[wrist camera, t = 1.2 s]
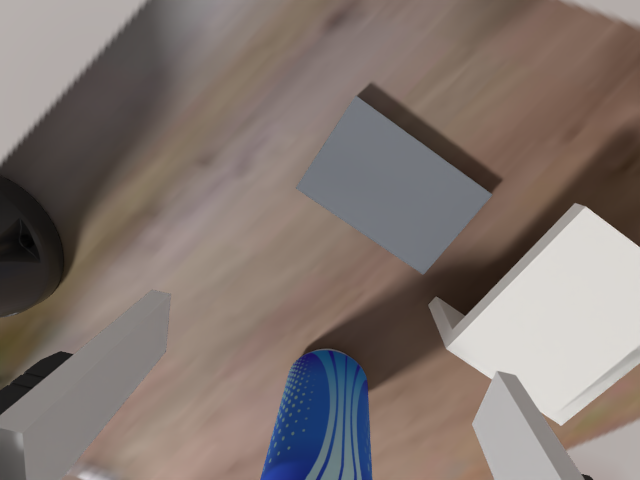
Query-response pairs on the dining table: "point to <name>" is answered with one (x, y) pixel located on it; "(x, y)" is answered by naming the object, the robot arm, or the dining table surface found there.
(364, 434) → the beer can
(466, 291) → the dining table surface
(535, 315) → the overhang
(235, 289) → the dining table surface
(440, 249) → the tile
